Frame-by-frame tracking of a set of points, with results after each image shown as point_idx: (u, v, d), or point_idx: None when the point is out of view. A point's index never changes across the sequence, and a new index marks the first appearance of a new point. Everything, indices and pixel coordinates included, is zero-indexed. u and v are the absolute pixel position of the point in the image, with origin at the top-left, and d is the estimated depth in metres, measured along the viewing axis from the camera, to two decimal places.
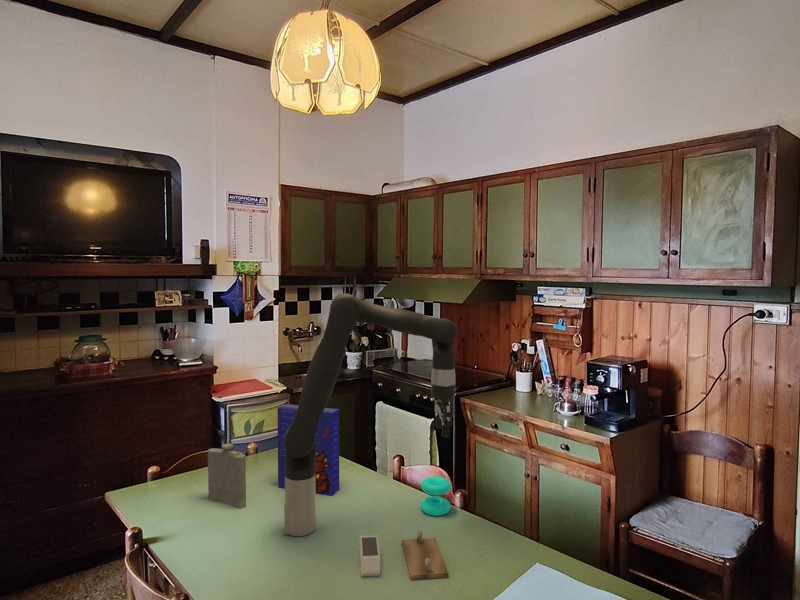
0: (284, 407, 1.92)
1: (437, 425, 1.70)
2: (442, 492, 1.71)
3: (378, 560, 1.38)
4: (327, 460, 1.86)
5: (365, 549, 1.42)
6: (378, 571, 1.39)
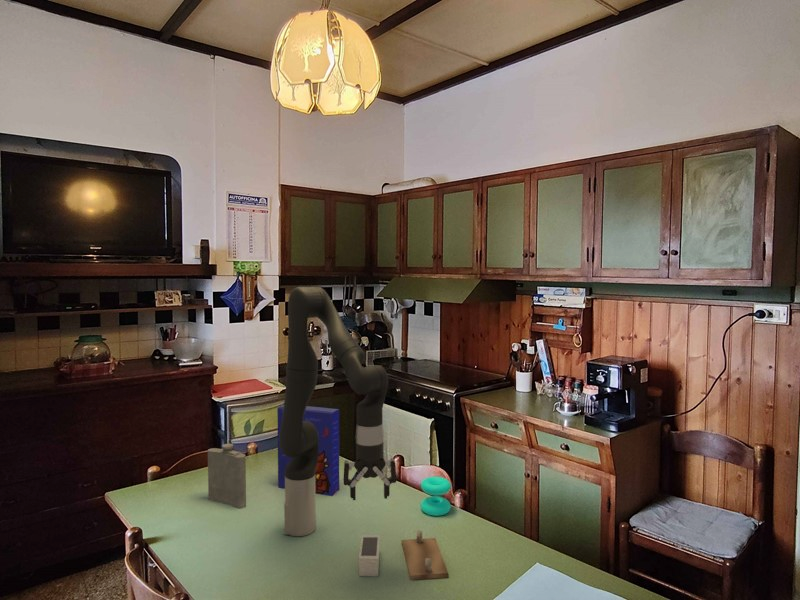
0: None
1: (355, 496, 1.42)
2: (442, 492, 1.71)
3: (376, 560, 1.38)
4: (327, 460, 1.86)
5: (364, 549, 1.42)
6: (376, 571, 1.38)
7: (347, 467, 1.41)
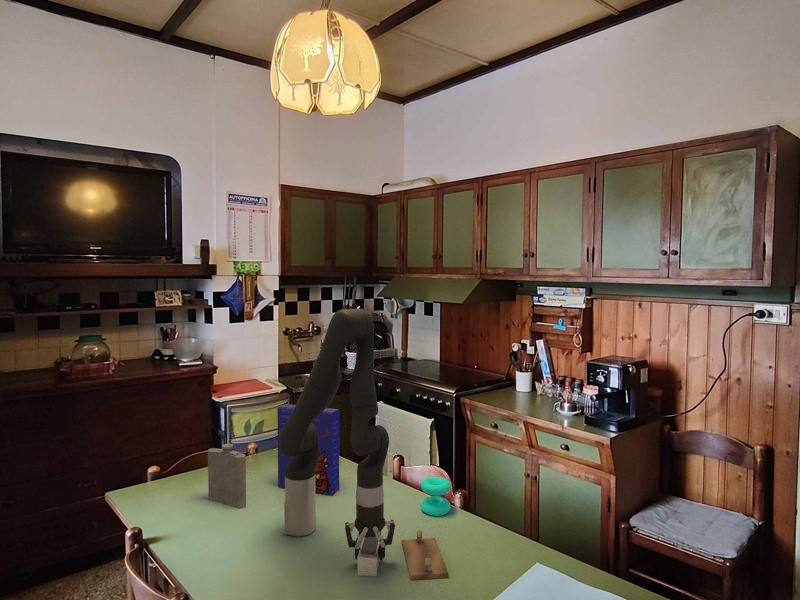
0: (284, 407, 1.92)
1: None
2: (442, 492, 1.71)
3: (374, 560, 1.38)
4: (327, 460, 1.86)
5: (364, 548, 1.42)
6: (374, 571, 1.38)
7: (348, 530, 1.42)
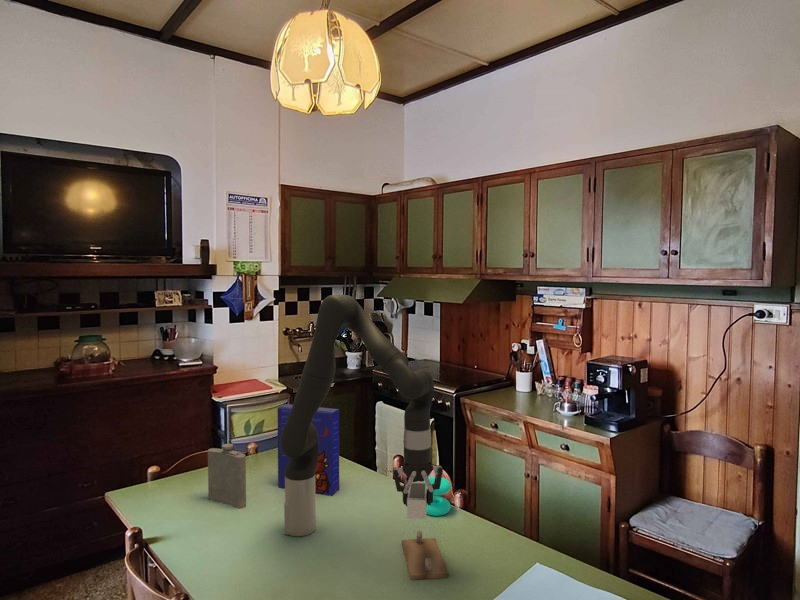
0: (284, 407, 1.92)
1: None
2: (442, 492, 1.71)
3: (424, 502, 1.38)
4: (327, 460, 1.86)
5: (412, 492, 1.43)
6: (424, 513, 1.38)
7: (396, 474, 1.42)
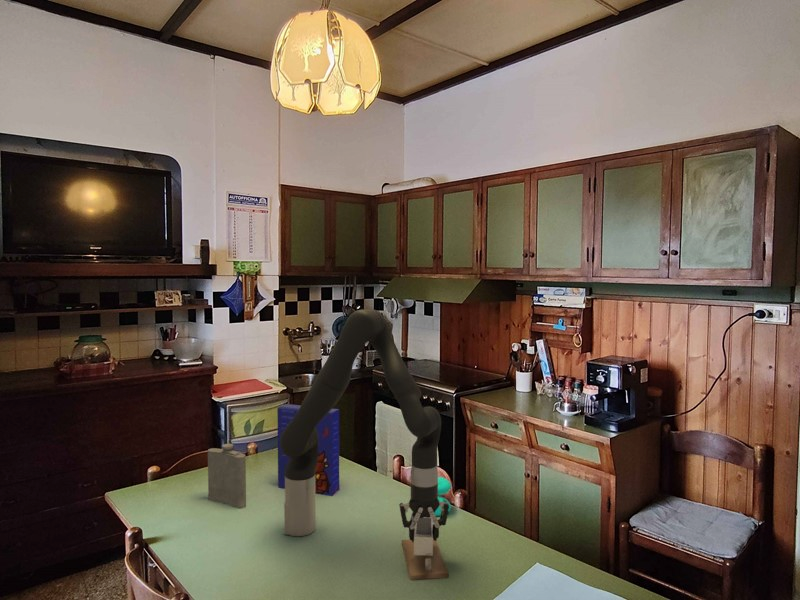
0: (284, 407, 1.92)
1: None
2: (442, 492, 1.71)
3: (431, 539, 1.40)
4: (327, 460, 1.86)
5: (419, 528, 1.44)
6: (431, 550, 1.40)
7: (403, 510, 1.43)
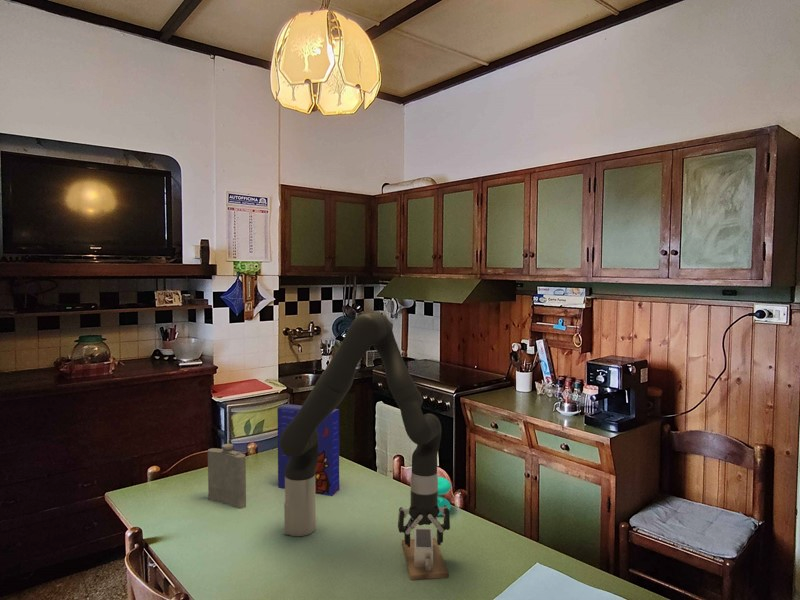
0: (284, 407, 1.92)
1: None
2: (442, 492, 1.71)
3: (431, 552, 1.40)
4: (327, 460, 1.86)
5: (419, 540, 1.44)
6: (431, 563, 1.40)
7: (402, 515, 1.43)
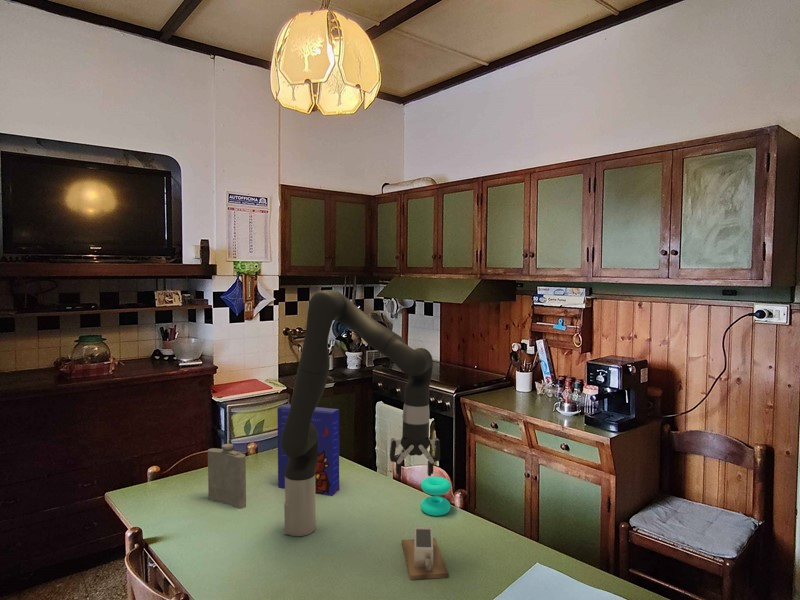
0: (284, 407, 1.92)
1: None
2: (442, 492, 1.71)
3: (431, 552, 1.40)
4: (327, 460, 1.86)
5: (419, 540, 1.44)
6: (431, 563, 1.40)
7: (394, 444, 1.47)
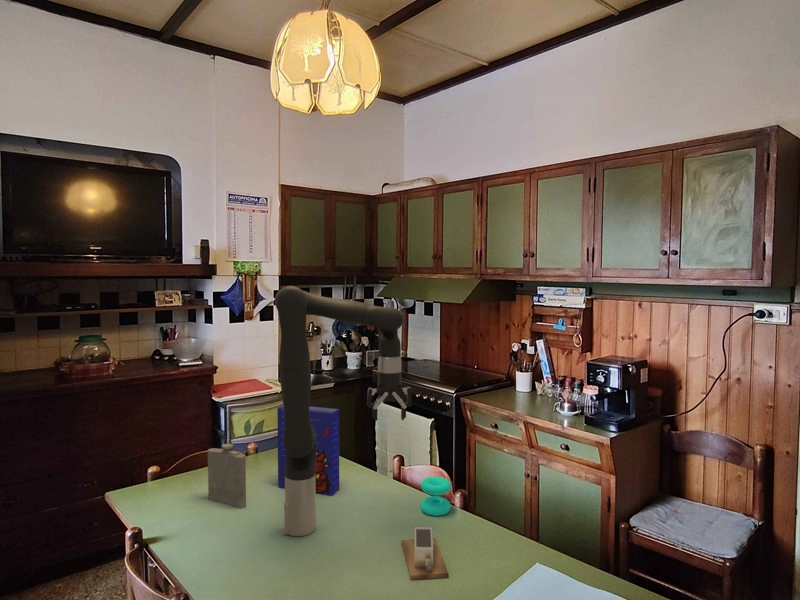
0: None
1: None
2: (442, 492, 1.71)
3: (431, 552, 1.40)
4: (327, 460, 1.86)
5: (419, 540, 1.44)
6: (431, 563, 1.40)
7: (370, 392, 1.67)
